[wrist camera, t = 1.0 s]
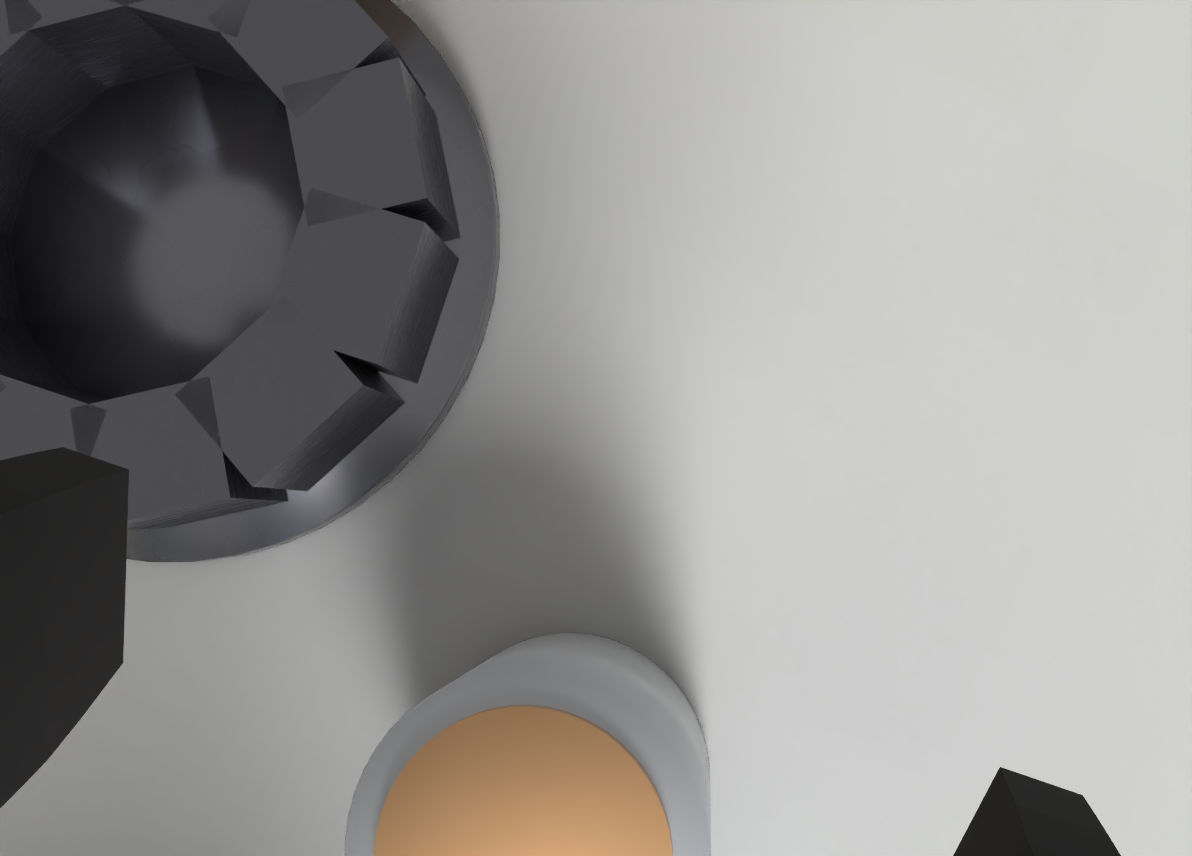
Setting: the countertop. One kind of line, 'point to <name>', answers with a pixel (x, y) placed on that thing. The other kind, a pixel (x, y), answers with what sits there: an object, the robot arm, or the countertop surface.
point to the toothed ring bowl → (236, 255)
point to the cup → (541, 761)
